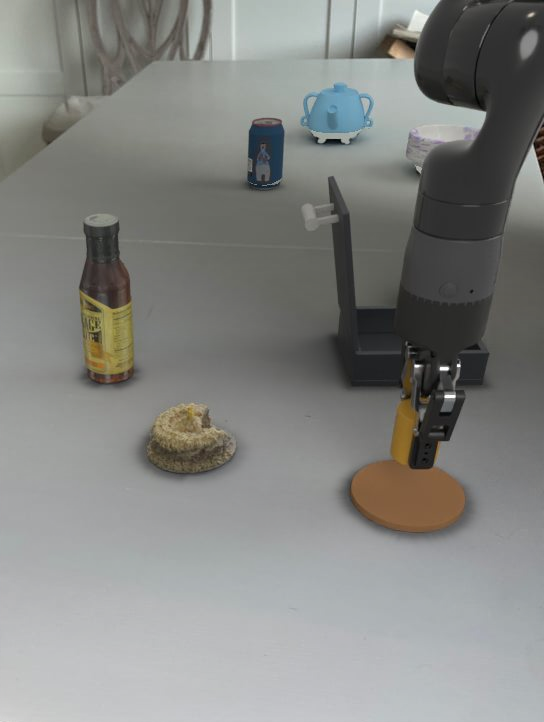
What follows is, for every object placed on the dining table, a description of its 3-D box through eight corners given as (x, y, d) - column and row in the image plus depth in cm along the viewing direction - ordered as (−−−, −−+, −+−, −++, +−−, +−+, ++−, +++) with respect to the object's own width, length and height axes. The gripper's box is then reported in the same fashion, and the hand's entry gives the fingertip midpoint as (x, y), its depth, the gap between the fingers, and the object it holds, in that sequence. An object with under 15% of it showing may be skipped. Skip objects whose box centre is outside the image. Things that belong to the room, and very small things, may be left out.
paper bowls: (496, 174, 163) (505, 132, 158) (446, 189, 156) (453, 146, 151) (437, 158, 173) (444, 118, 168) (387, 172, 166) (392, 131, 161)
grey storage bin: (454, 334, 108) (461, 304, 105) (482, 385, 97) (489, 352, 95) (337, 336, 109) (340, 306, 106) (351, 386, 98) (355, 354, 96)
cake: (169, 489, 84) (163, 447, 81) (133, 443, 91) (126, 403, 88) (253, 459, 86) (251, 416, 83) (212, 416, 94) (208, 375, 90)
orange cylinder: (411, 436, 80) (419, 392, 77) (447, 456, 77) (457, 411, 74) (380, 451, 78) (387, 407, 75) (415, 473, 75) (424, 427, 72)
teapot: (304, 128, 197) (308, 74, 190) (374, 130, 193) (380, 75, 186) (292, 150, 182) (295, 92, 175) (367, 153, 178) (373, 94, 171)
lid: (333, 175, 96) (295, 183, 97) (349, 213, 86) (306, 221, 86) (343, 303, 106) (309, 309, 107) (359, 350, 95) (320, 357, 96)
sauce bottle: (80, 369, 104) (63, 213, 92) (125, 358, 106) (114, 205, 94) (97, 391, 99) (81, 231, 87) (143, 380, 101) (135, 221, 89)
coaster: (402, 454, 87) (403, 447, 86) (487, 503, 79) (489, 497, 79) (327, 491, 82) (328, 484, 81) (410, 547, 75) (412, 541, 74)
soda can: (272, 178, 166) (275, 115, 159) (287, 188, 161) (291, 122, 153) (241, 183, 164) (243, 119, 157) (255, 192, 159) (257, 127, 152)
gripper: (520, 316, 61) (473, 497, 71) (471, 248, 72) (437, 413, 83) (419, 318, 61) (387, 497, 72) (386, 250, 72) (363, 413, 83)
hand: (414, 451), depth 77 cm, fingers closed on orange cylinder, 4 cm apart
